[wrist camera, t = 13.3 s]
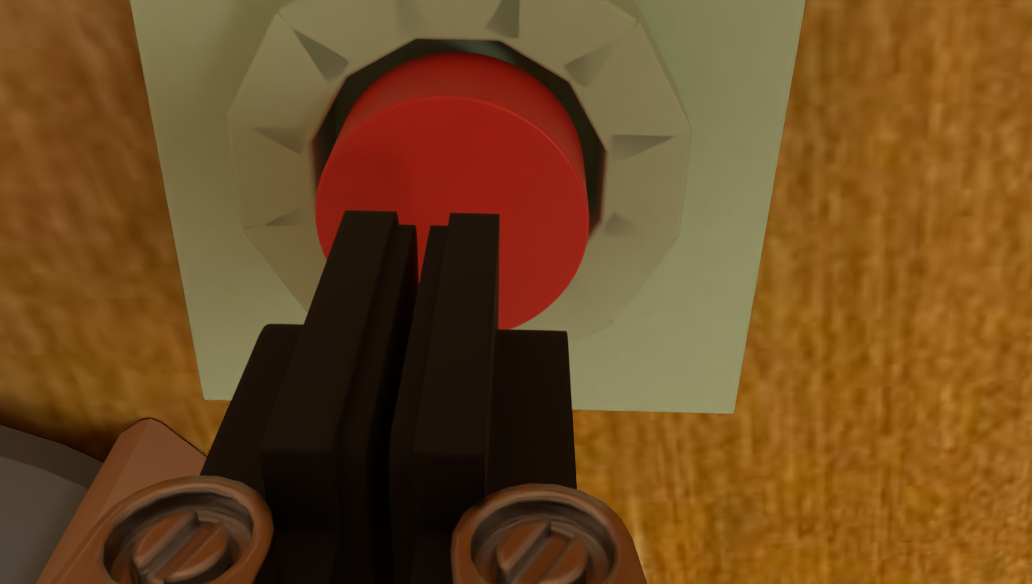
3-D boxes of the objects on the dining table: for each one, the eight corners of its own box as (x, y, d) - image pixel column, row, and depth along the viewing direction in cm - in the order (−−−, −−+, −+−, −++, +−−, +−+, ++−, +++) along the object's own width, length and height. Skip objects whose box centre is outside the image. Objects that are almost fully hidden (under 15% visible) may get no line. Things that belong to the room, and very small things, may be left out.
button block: (136, -279, 14) (13, -270, 11) (810, -263, 14) (895, -248, 11) (233, 335, 20) (172, 465, 17) (715, 347, 20) (752, 480, 17)
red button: (327, 46, 13) (301, 91, 12) (591, 54, 13) (598, 99, 12) (346, 274, 15) (325, 337, 14) (576, 280, 15) (581, 343, 14)
